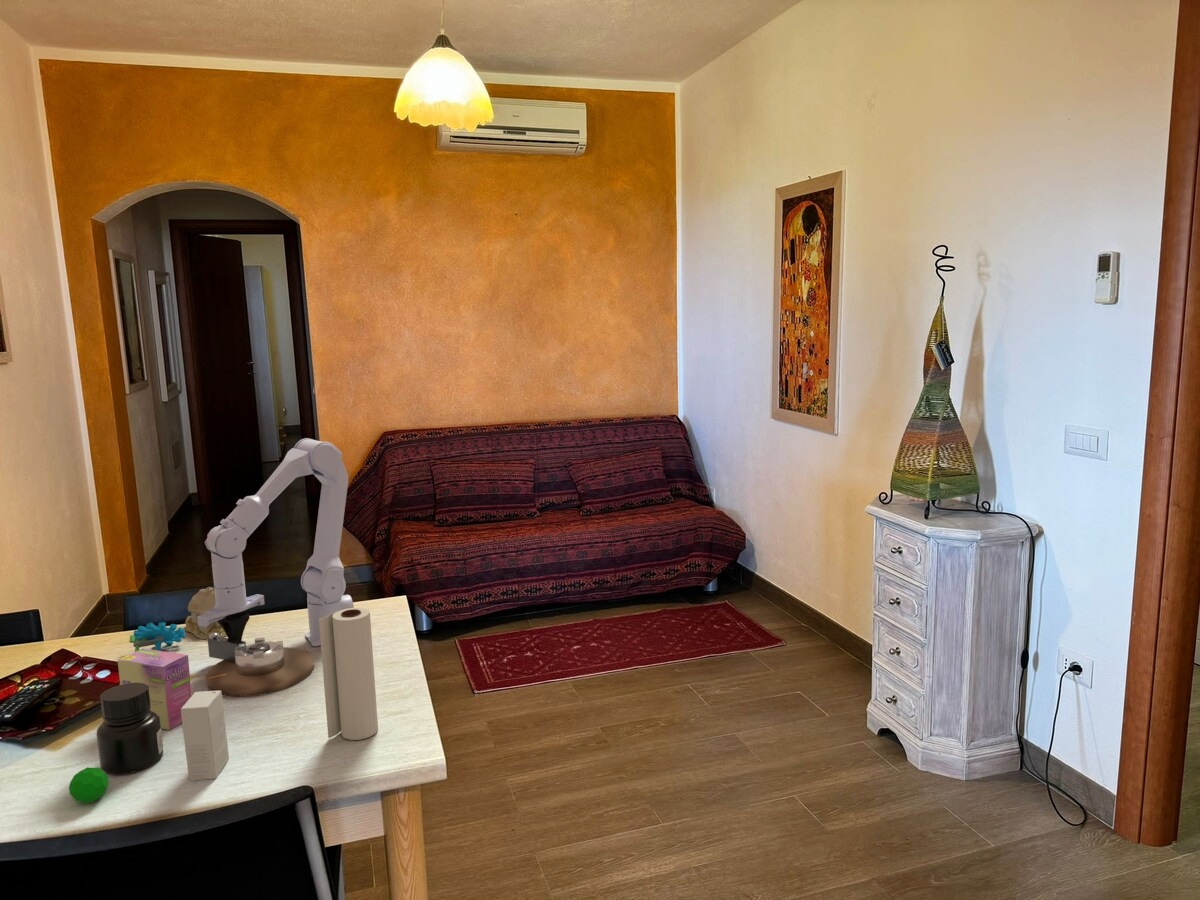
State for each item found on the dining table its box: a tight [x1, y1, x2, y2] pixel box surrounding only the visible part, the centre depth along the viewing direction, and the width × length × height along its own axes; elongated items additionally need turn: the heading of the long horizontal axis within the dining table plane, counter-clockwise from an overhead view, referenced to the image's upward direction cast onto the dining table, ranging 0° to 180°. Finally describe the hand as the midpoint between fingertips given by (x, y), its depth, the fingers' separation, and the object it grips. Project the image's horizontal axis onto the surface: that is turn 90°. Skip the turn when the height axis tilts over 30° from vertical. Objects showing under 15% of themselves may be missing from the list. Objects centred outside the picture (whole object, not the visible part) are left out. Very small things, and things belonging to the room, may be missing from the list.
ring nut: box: [206, 632, 285, 676], centre depth 170 cm, size 18×9×5 cm, turn 65°
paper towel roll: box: [319, 607, 379, 741], centre depth 143 cm, size 7×6×21 cm
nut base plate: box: [205, 646, 315, 697], centre depth 169 cm, size 20×20×2 cm
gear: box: [128, 621, 186, 652], centre depth 181 cm, size 11×6×10 cm
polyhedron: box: [68, 766, 110, 804], centre depth 126 cm, size 5×5×5 cm
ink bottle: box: [96, 683, 164, 775], centre depth 136 cm, size 10×9×12 cm
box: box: [117, 648, 193, 731], centre depth 150 cm, size 10×6×12 cm, turn 71°
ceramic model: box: [184, 586, 227, 640], centre depth 194 cm, size 14×11×10 cm
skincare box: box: [181, 690, 230, 781], centre depth 132 cm, size 6×4×12 cm
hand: (235, 648), depth 174 cm, fingers closed
